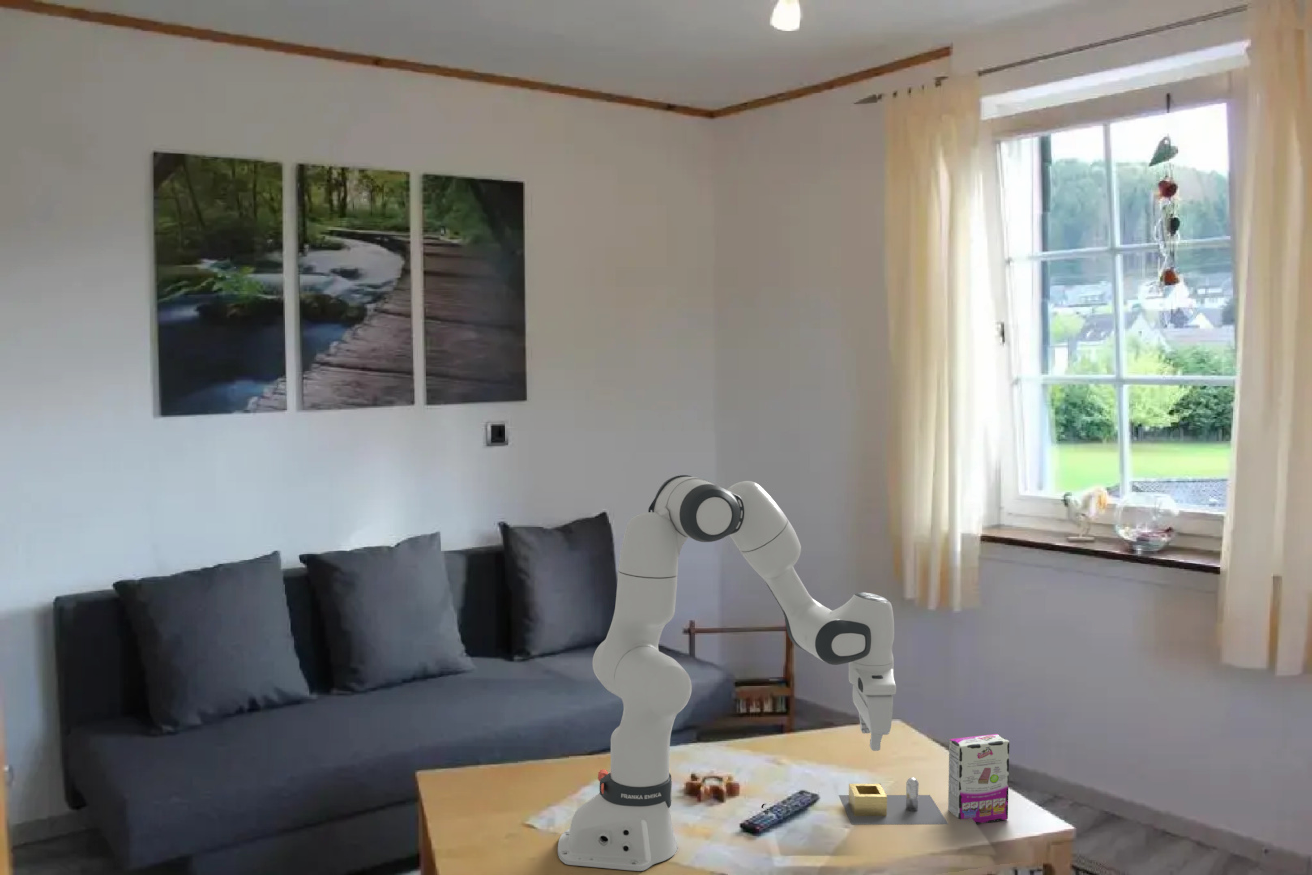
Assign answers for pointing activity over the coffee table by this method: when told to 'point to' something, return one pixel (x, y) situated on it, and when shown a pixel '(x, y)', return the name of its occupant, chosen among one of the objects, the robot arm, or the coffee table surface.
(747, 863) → the coffee table surface
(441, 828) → the coffee table surface
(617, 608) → the robot arm
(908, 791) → the steel post
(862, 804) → the brass collar
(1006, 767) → the candy bar box
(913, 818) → the slate mat
